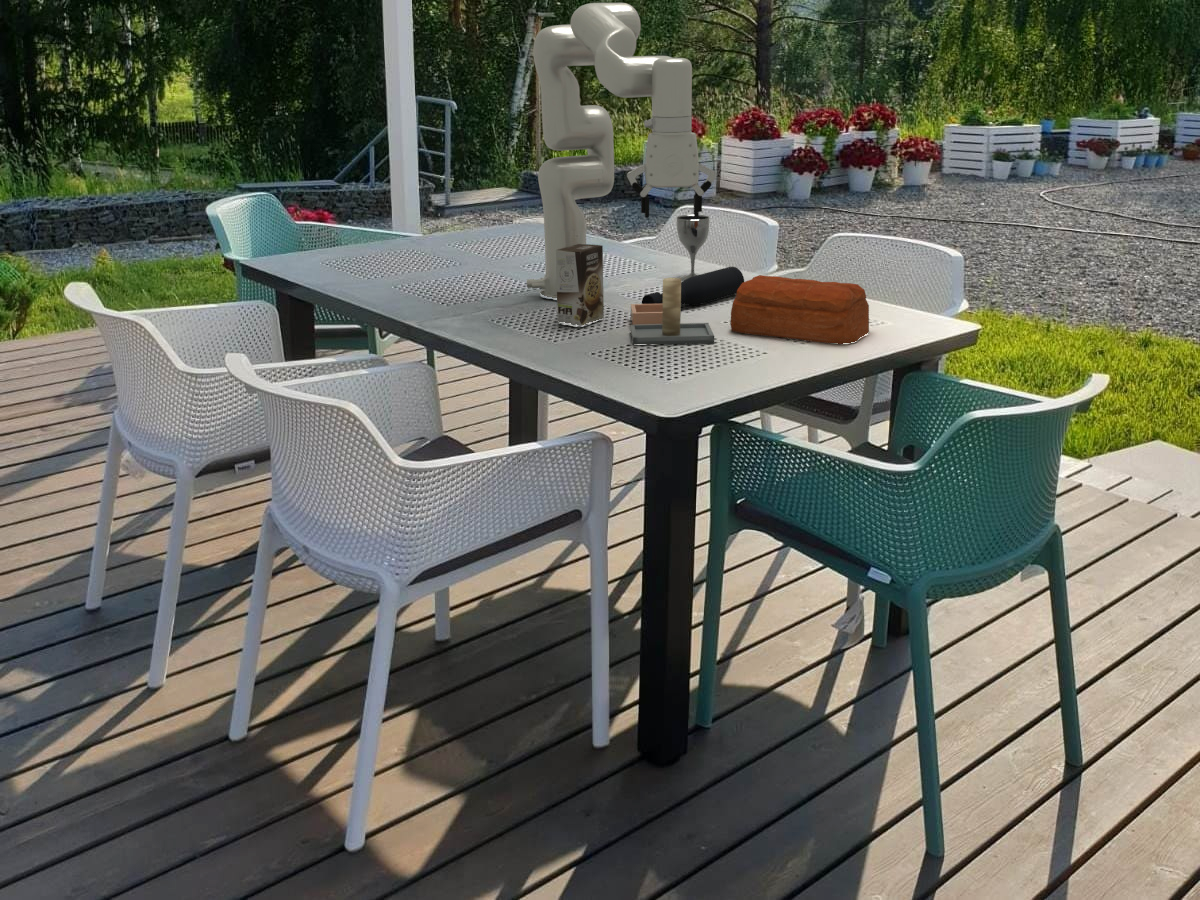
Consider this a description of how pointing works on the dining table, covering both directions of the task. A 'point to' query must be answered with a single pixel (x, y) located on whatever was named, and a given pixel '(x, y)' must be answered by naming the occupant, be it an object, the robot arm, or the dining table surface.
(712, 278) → the wine bottle
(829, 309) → the bread
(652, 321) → the square copper frame
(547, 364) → the dining table surface
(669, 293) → the dowel
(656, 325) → the tray
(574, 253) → the coffee box
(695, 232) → the wine glass
